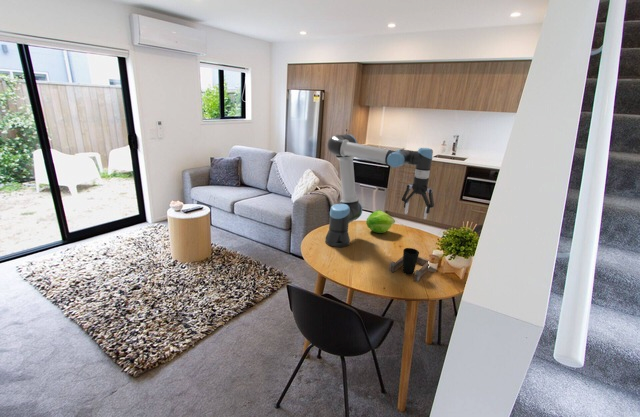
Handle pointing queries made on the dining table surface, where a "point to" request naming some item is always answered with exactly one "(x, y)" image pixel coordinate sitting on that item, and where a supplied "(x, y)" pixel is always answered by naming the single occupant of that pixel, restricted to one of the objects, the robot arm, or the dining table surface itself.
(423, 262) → the grey u-shaped frame
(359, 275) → the dining table surface
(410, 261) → the cup
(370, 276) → the dining table surface
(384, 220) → the lettuce
